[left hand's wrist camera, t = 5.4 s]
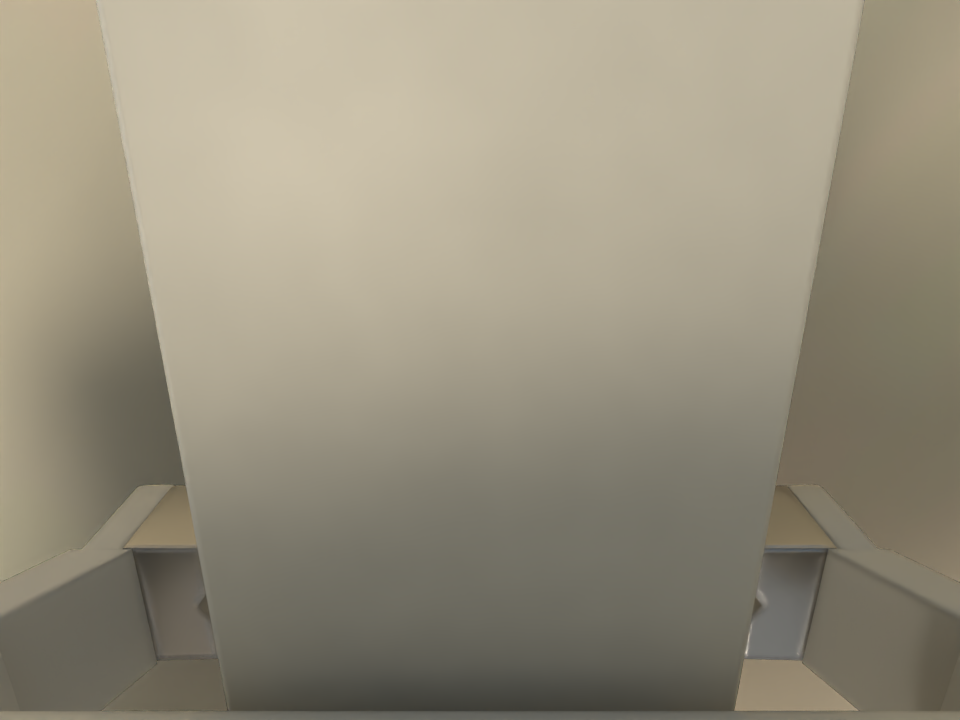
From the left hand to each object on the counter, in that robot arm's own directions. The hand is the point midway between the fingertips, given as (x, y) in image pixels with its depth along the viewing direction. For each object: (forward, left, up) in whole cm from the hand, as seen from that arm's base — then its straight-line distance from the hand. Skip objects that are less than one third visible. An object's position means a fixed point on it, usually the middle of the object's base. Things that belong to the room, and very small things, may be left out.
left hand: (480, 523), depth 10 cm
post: (+32, -14, -3) cm, 35 cm away
